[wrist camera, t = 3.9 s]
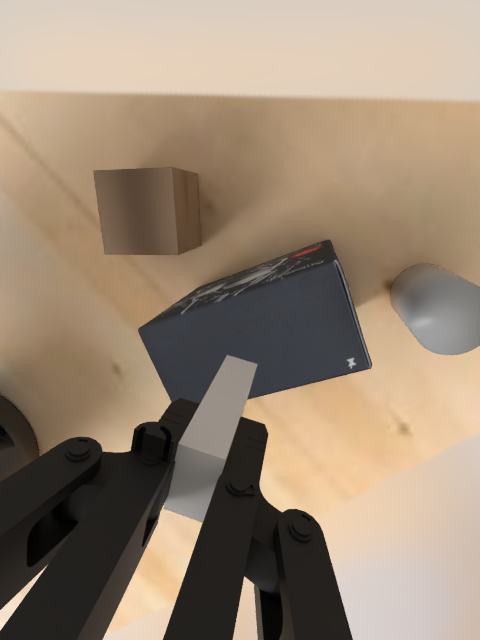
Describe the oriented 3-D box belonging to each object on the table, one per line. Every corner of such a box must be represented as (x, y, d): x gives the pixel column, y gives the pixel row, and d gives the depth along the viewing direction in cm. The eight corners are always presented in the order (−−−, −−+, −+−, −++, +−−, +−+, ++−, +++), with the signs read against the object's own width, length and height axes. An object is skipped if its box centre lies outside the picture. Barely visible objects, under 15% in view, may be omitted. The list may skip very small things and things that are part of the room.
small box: (330, 235, 29) (341, 255, 18) (354, 309, 31) (379, 370, 20) (193, 287, 33) (133, 330, 22) (221, 350, 35) (178, 421, 24)
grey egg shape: (380, 312, 31) (399, 342, 24) (403, 256, 29) (430, 272, 22) (438, 329, 30) (474, 364, 24) (466, 273, 28) (512, 294, 22)
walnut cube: (140, 245, 33) (105, 254, 27) (132, 176, 31) (93, 170, 25) (201, 245, 32) (178, 254, 26) (197, 173, 30) (171, 167, 24)
